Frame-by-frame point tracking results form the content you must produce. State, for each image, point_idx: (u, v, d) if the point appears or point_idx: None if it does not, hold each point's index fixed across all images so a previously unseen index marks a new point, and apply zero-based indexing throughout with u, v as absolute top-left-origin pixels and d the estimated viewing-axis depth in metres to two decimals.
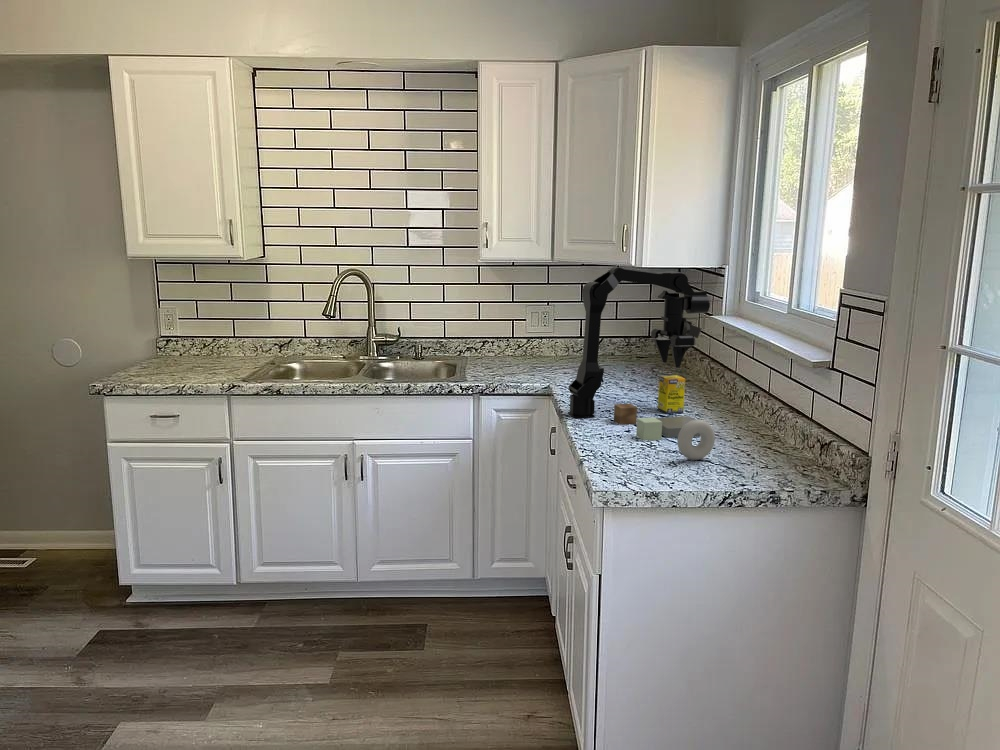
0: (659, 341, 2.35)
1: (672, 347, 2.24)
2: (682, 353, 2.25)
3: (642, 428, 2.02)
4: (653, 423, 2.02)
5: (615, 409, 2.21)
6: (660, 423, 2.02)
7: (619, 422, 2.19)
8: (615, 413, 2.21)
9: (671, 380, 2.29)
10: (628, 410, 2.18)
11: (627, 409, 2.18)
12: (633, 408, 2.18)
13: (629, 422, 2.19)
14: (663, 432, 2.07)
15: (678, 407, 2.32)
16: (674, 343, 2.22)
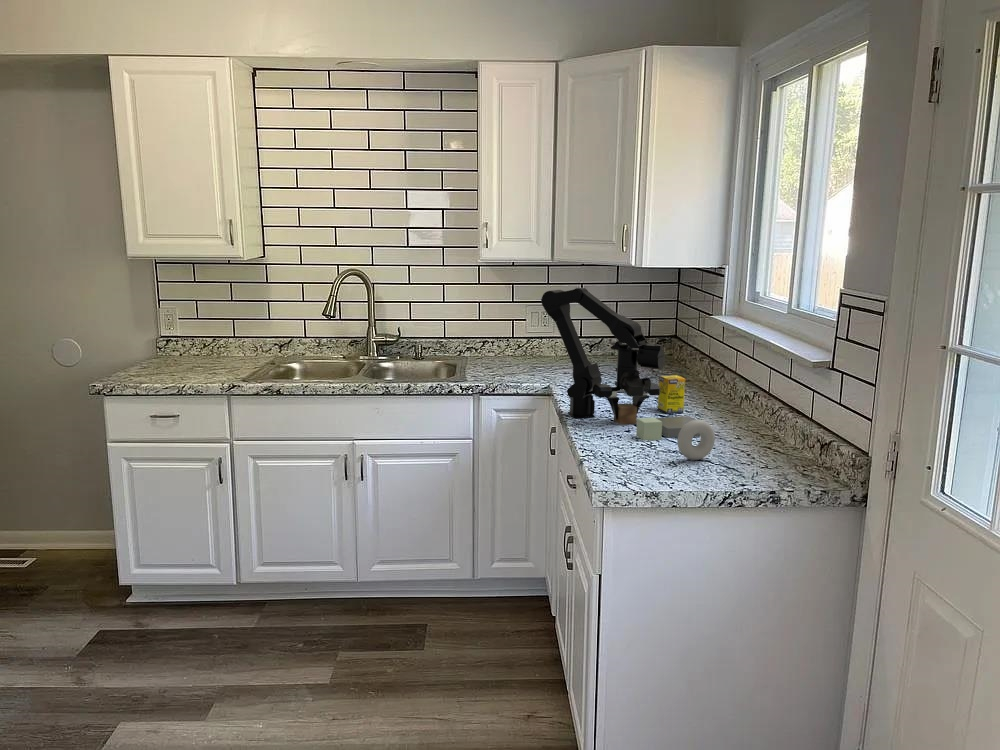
0: None
1: None
2: None
3: (642, 428, 2.02)
4: (653, 423, 2.01)
5: None
6: (660, 423, 2.02)
7: (619, 422, 2.19)
8: None
9: (671, 380, 2.30)
10: (628, 409, 2.18)
11: (627, 409, 2.18)
12: (633, 408, 2.18)
13: (629, 422, 2.19)
14: (663, 432, 2.07)
15: (678, 407, 2.32)
16: None
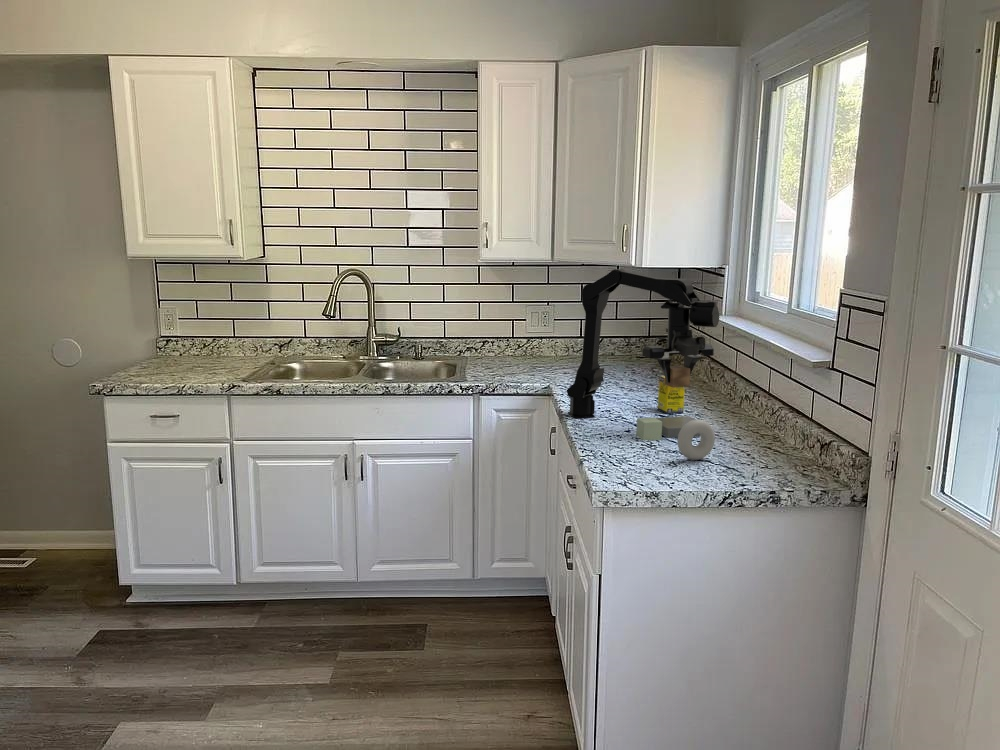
0: (685, 357, 2.11)
1: None
2: None
3: (642, 428, 2.02)
4: (653, 423, 2.01)
5: None
6: (660, 423, 2.02)
7: (671, 384, 2.08)
8: None
9: None
10: (681, 371, 2.07)
11: (680, 370, 2.07)
12: (686, 369, 2.07)
13: (682, 384, 2.08)
14: (663, 432, 2.07)
15: (678, 407, 2.32)
16: None
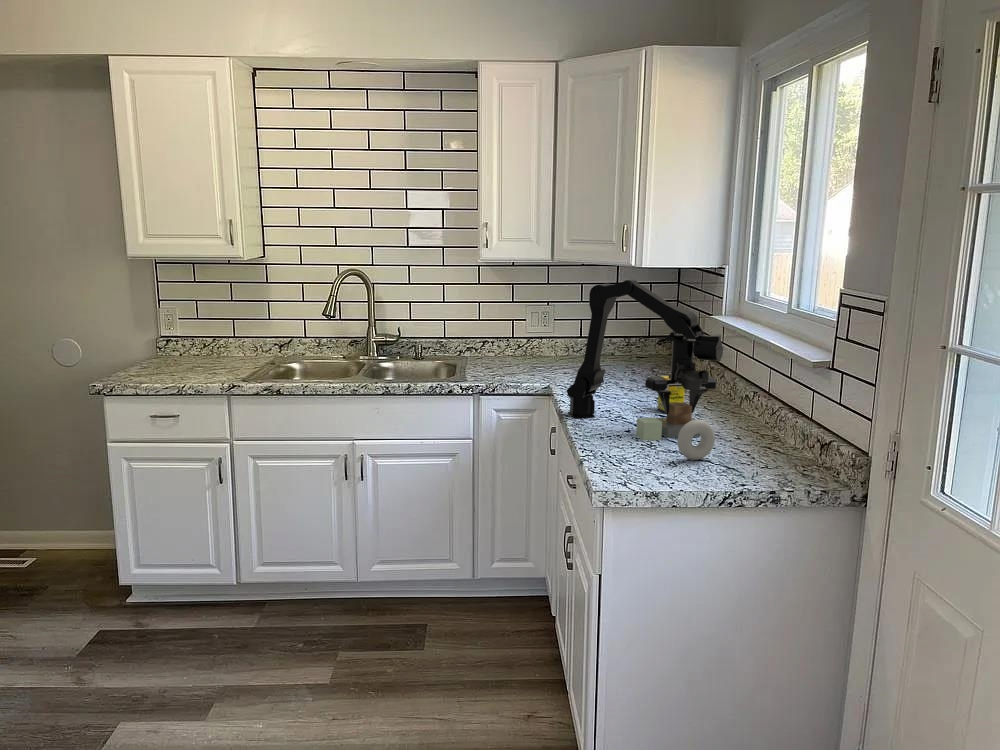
0: (691, 388, 2.12)
1: None
2: None
3: (642, 428, 2.02)
4: (653, 423, 2.02)
5: None
6: (660, 423, 2.02)
7: (673, 422, 2.09)
8: None
9: None
10: (683, 408, 2.08)
11: (682, 408, 2.08)
12: (688, 407, 2.08)
13: (684, 422, 2.09)
14: (663, 432, 2.07)
15: None
16: None
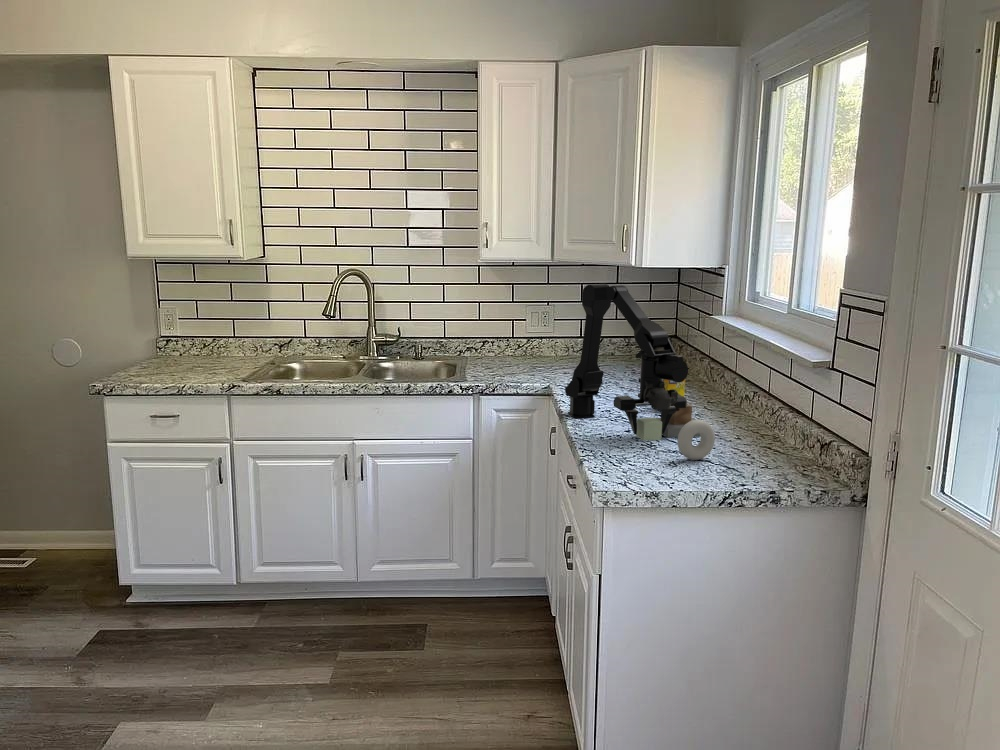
0: None
1: None
2: None
3: (642, 428, 2.02)
4: (653, 423, 2.01)
5: None
6: (660, 423, 2.02)
7: (673, 422, 2.09)
8: None
9: None
10: (683, 408, 2.08)
11: (682, 408, 2.08)
12: (688, 407, 2.08)
13: (684, 422, 2.09)
14: None
15: None
16: None
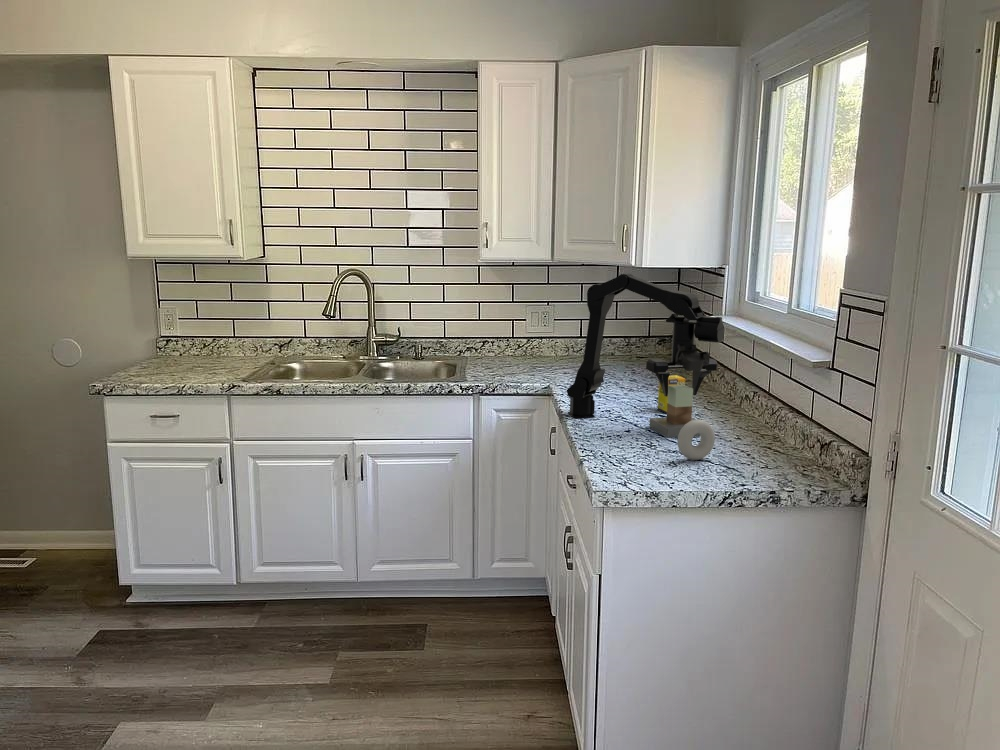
0: (694, 370, 2.12)
1: None
2: None
3: (674, 394, 2.08)
4: (684, 389, 2.07)
5: (668, 408, 2.12)
6: (691, 390, 2.08)
7: (673, 422, 2.09)
8: (668, 412, 2.12)
9: (671, 380, 2.29)
10: (683, 408, 2.08)
11: (682, 408, 2.08)
12: (688, 407, 2.08)
13: (684, 422, 2.09)
14: (663, 432, 2.07)
15: None
16: None
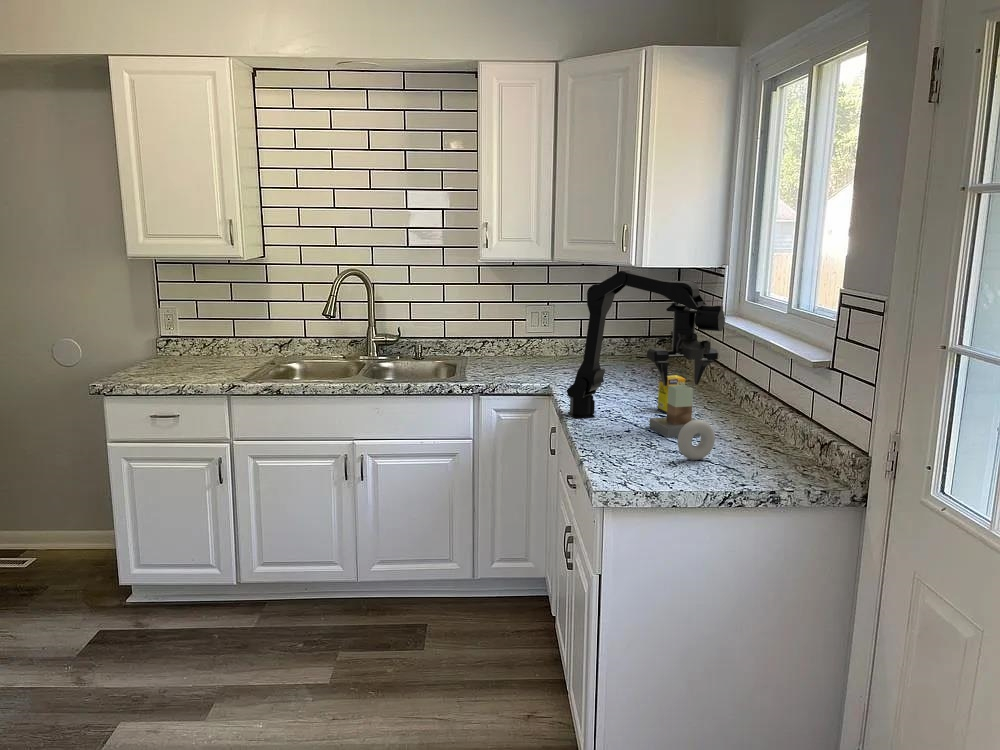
0: (696, 360, 2.11)
1: None
2: None
3: (674, 394, 2.08)
4: (684, 389, 2.07)
5: (668, 408, 2.12)
6: (691, 390, 2.08)
7: (673, 422, 2.09)
8: (668, 412, 2.12)
9: (671, 380, 2.29)
10: (683, 408, 2.08)
11: (682, 408, 2.08)
12: (688, 407, 2.08)
13: (684, 422, 2.09)
14: (663, 432, 2.07)
15: None
16: None
